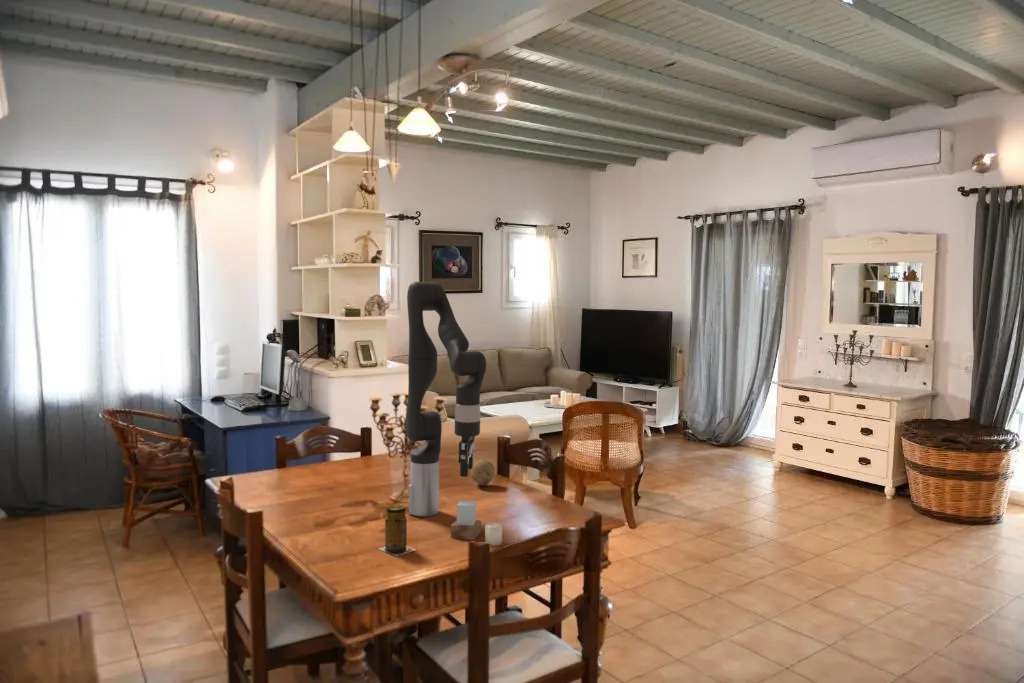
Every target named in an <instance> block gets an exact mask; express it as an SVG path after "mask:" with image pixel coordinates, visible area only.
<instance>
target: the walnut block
mask: <svg viewBox="0 0 1024 683" xmlns="http://www.w3.org/2000/svg"><path fill="white" fill-rule="evenodd" d="M481 533H482V520H478V519H476V522H475V524H474V526H468V525H457V520H455V521H454V522H453V523H452V524H450V538H454V539H460V540H461V539H462V540H468V541H474V540H475V539H476V538H477V537H478V536H479V535H480V534H481Z"/></svg>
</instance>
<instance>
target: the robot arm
mask: <svg viewBox="0 0 1024 683" xmlns="http://www.w3.org/2000/svg"><path fill="white" fill-rule="evenodd" d="M406 295H407V296H406V300H407V302H406V303H407V316H408V355H407V356H408V358H407V360H408V365H407V368H408V369H407V370H408V373H407V374H408V386H407V387H408V394H407V405H406V414H405V433H406V437H407V439H408V440H409V442H423V441H424V443H423V444H422V445H421V446H419V447H418V448H416V449H414V450H412V451H411V453H410V484H409V485H408V515H413V516H416V517H432V516H435V515H438V514H439V512H440V510H439V509H440V455H441V446H442V445H441V444H442V442H441V441H442V431H443V430H442V428H443V426H442V425H443V424H442V418H441V416H440V414H439V413H438V412H437V411H432V410H431V411H421V409H422V403H423V400H424V397H425V395H426V393H427V391H428V389H429V388H430V387H431V385H432V383H433V382H434V380H435V378H436V376H437V373H438V351H437V348H436V346H435V343H434V342H433V340H432V338H431V336H430V335H429V333H428V332H427V329H426V326H425V323H424V322H425V321H424V314H423V312H426V311H427V312H430V311H431V312H433V311H435V312H436V314H437V315H438V316H439V322H438V326H437V333H438V337H439V340H440V341H441V343H442V345H443V347H444V348H445V350H446V352H447V356H448V361H449V367H450V370H451V372H452V373H453V374H454V375H456V376H459V377H465V376H466V377H467V376H468V378H467V380H466V381H464V382H462V383H460V384H458V385H457V386H456V390H455V408H454V434H455V435H456V436H458V437H461V439H460V441H459V443H458V464H460V468H459V469H460V471H459V476H460V477H466V478H467V477H468V476H469V470H471V469H472V468H473V465H474V456H475V452H476V450H475V449H476V447H475V446H476V445H475V444H476V437H478V436H479V435H480V434H481V406H480V405H481V404H480V402H481V398H480V396H481V387H482V385H483V381H484V377H485V373H486V371H487V360H486V356H485V355H484V353H483V352H481V351H479V350H478V351H477V350H475V351H473V350H471V351H468V349H469V347H470V343H469V340H468V338H467V337H466V335H465V333H464V331H463V330H462V329H461V327H460V325H459V323H458V321H457V320H456V317H455V314H454V312H453V309H452V306H451V303H450V302H449V301H450V300H449V297H448V296H447V294H446V291H445V289H444V288H443V286H442V285H441V284H440V283H439V282H436V281H413V282H411V283H410V284H409V286H408V288H407V294H406Z"/></svg>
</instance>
